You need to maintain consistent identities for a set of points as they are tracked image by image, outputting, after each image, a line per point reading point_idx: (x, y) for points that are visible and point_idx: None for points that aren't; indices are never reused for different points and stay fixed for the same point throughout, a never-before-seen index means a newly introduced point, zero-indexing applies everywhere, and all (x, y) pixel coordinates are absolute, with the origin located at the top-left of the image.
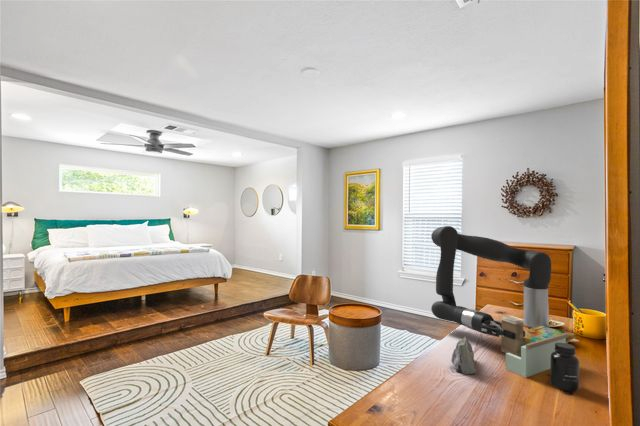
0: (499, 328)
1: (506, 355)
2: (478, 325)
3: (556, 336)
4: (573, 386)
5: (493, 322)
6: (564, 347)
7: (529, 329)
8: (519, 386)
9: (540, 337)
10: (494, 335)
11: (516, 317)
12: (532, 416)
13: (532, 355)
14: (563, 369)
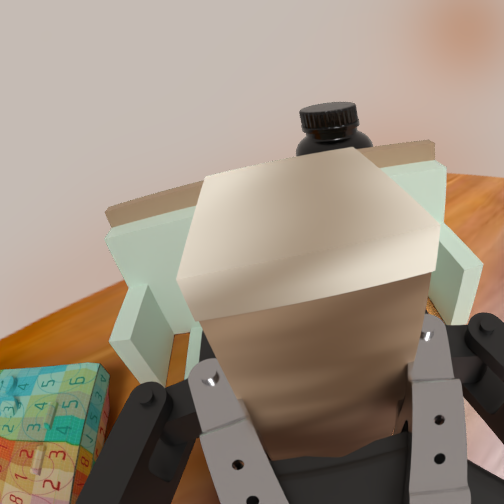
0: (449, 351)
1: (479, 268)
2: None
3: (196, 184)
4: None
5: (438, 500)
6: (345, 102)
7: None
8: (474, 237)
9: (28, 417)
10: (493, 376)
11: (200, 210)
12: (492, 181)
13: None
14: None
